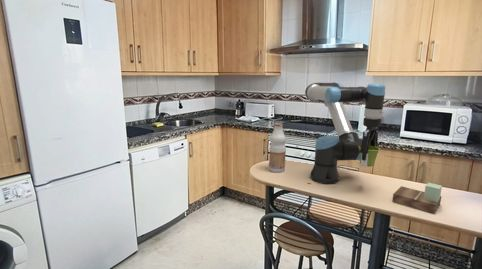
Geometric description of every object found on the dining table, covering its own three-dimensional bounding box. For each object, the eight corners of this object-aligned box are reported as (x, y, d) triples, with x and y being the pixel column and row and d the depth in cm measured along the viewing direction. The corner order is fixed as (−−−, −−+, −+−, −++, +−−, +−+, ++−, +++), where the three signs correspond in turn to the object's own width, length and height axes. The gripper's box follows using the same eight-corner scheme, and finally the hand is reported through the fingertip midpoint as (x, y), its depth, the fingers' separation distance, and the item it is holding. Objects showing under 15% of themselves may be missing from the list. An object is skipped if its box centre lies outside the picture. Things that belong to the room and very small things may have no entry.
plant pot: (375, 162, 139) (377, 145, 137) (379, 168, 130) (382, 150, 128) (355, 160, 141) (356, 144, 139) (358, 167, 132) (360, 149, 130)
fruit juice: (272, 173, 162) (273, 125, 156) (266, 168, 170) (267, 122, 164) (287, 172, 164) (289, 124, 158) (281, 167, 173) (282, 122, 167)
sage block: (423, 198, 121) (425, 185, 120) (426, 195, 125) (428, 182, 123) (437, 202, 118) (439, 189, 116) (439, 198, 121) (441, 185, 120)
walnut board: (392, 201, 127) (393, 193, 126) (400, 193, 135) (401, 186, 134) (434, 214, 116) (436, 205, 115) (440, 204, 125) (441, 196, 124)
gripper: (372, 121, 121) (366, 171, 126) (388, 116, 136) (382, 160, 141) (355, 119, 126) (350, 167, 131) (372, 114, 141) (367, 157, 146)
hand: (367, 164), depth 136 cm, fingers closed on plant pot, 8 cm apart
